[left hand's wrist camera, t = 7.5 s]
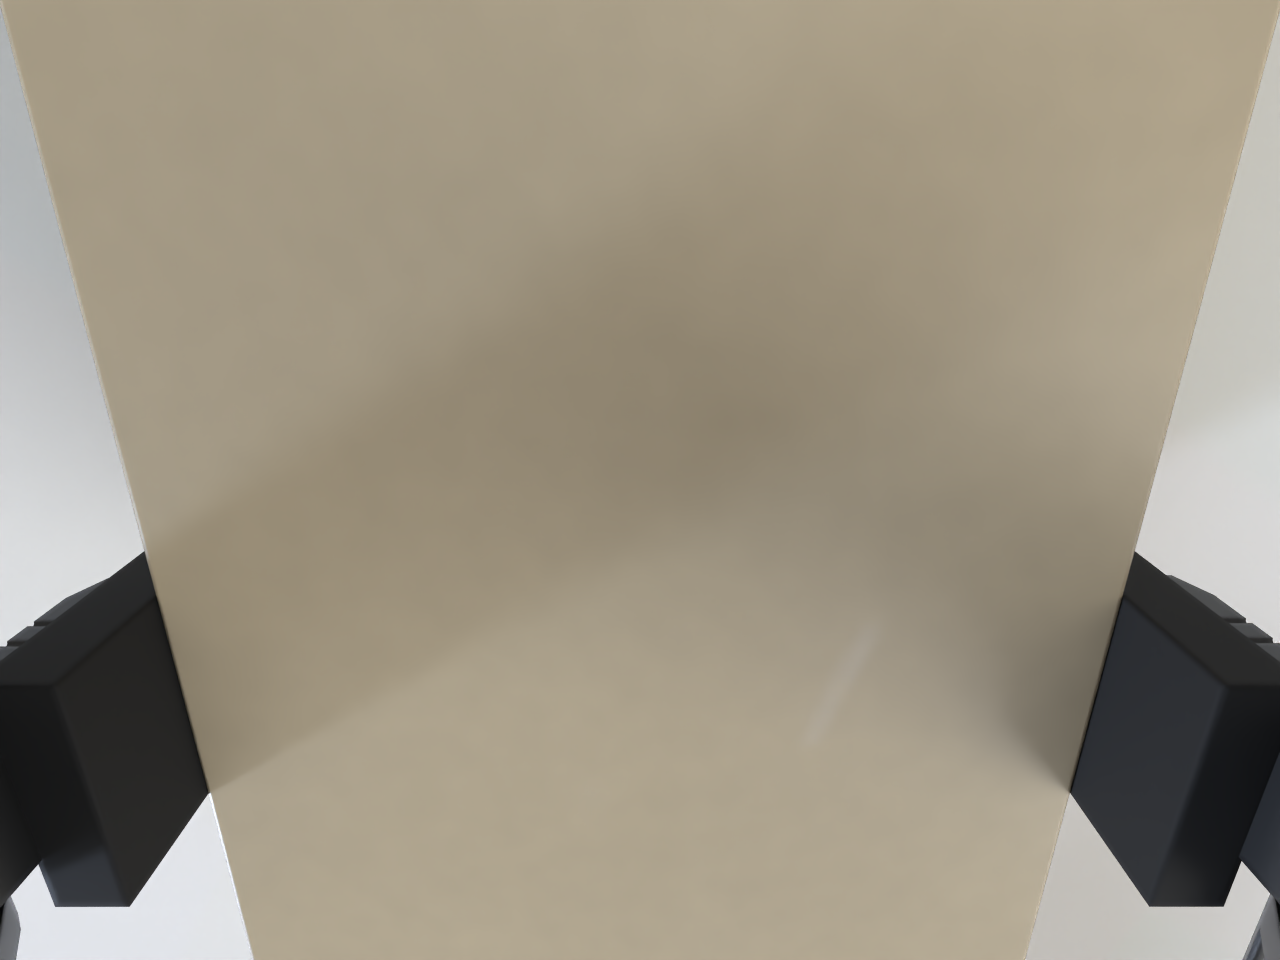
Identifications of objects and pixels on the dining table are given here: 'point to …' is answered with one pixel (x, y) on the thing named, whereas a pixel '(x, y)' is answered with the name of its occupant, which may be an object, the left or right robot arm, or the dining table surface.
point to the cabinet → (639, 440)
